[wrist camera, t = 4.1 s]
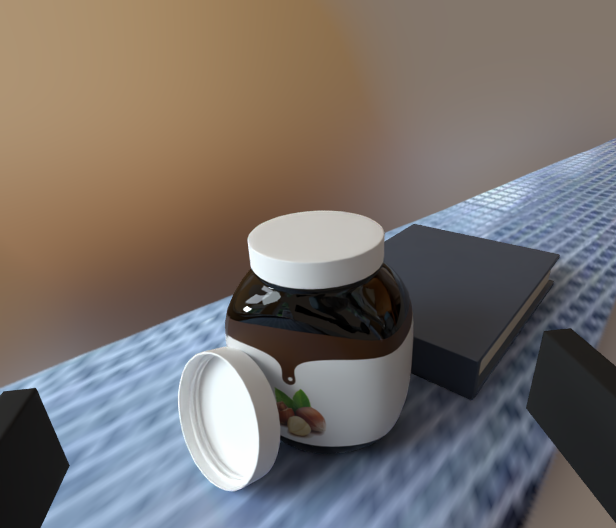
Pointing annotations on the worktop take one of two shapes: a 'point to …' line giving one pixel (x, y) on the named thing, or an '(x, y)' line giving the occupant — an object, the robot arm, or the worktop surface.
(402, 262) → the book
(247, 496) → the worktop surface
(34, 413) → the robot arm
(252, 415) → the spread jar
